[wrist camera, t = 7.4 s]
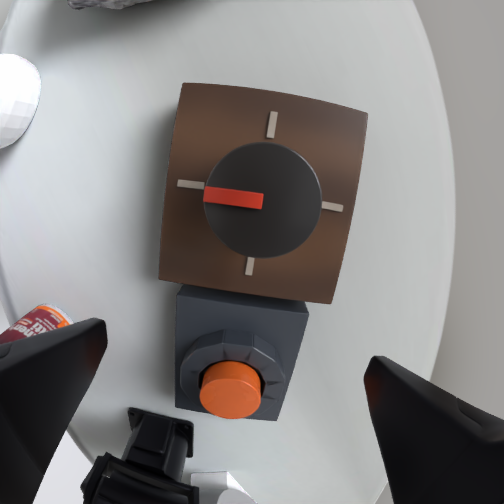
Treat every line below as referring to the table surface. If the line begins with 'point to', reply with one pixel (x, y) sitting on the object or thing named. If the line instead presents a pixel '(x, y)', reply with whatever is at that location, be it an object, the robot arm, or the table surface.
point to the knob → (263, 200)
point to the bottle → (17, 96)
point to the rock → (103, 3)
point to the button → (230, 390)
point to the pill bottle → (36, 323)
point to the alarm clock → (219, 489)
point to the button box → (236, 342)
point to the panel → (233, 136)
